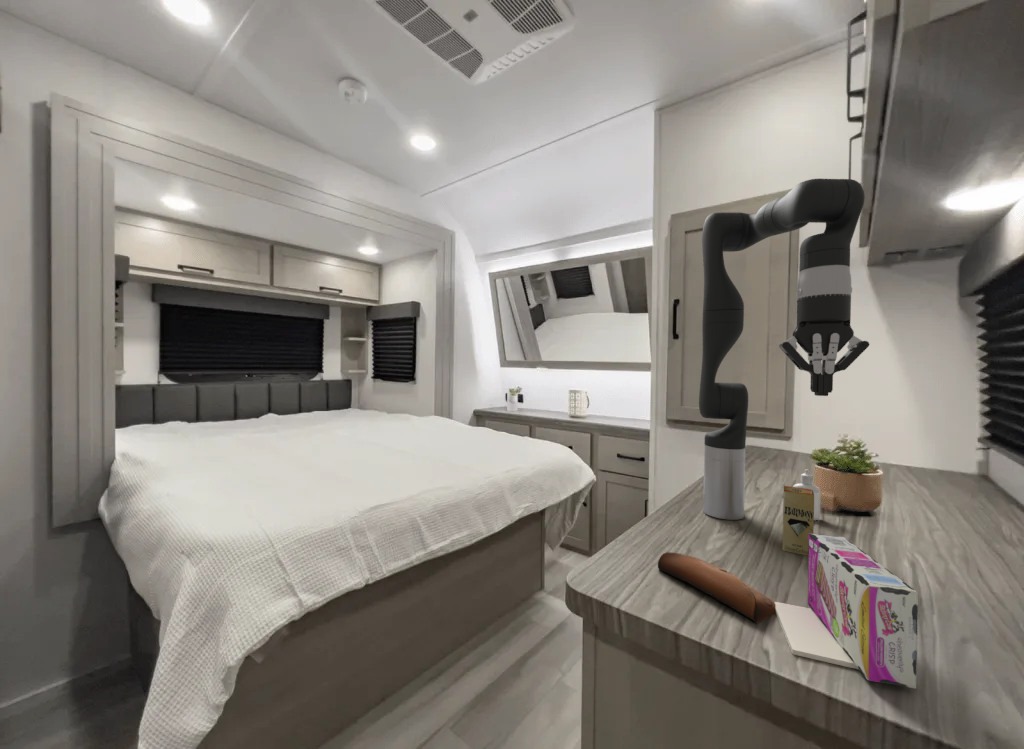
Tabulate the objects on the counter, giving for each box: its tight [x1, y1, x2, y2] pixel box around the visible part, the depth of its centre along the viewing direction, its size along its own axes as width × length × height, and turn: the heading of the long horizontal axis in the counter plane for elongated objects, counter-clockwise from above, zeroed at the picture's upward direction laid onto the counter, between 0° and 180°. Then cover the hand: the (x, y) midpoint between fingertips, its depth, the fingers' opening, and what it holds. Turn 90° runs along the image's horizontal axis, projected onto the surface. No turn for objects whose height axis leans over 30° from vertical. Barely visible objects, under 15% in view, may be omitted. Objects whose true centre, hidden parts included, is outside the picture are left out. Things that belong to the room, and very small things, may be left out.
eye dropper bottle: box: [792, 469, 821, 521], centre depth 103 cm, size 4×6×12 cm
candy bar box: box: [807, 533, 919, 689], centre depth 54 cm, size 11×5×16 cm
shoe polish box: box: [782, 485, 815, 556], centre depth 84 cm, size 5×5×12 cm
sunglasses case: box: [657, 551, 776, 624], centre depth 68 cm, size 18×7×7 cm
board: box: [774, 601, 859, 670], centre depth 56 cm, size 12×12×1 cm
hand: (820, 395), depth 72 cm, fingers closed
